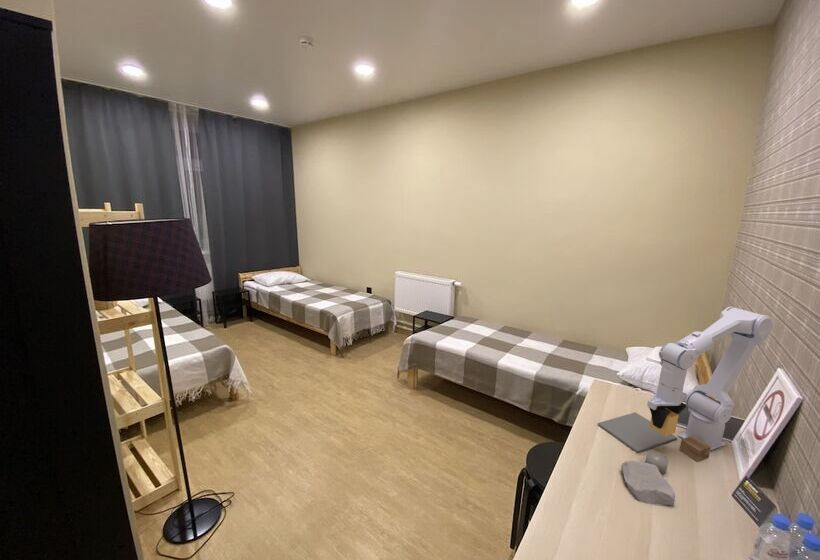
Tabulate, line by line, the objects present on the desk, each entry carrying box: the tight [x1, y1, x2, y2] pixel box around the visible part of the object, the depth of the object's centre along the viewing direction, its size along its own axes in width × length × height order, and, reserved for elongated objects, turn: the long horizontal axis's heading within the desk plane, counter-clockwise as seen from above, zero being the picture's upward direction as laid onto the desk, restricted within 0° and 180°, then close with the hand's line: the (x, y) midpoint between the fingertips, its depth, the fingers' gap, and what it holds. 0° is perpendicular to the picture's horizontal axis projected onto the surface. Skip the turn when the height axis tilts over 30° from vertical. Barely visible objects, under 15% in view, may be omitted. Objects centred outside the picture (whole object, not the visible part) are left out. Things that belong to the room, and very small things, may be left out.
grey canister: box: [644, 449, 669, 476], centre depth 95 cm, size 5×5×4 cm
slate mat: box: [597, 412, 678, 454], centre depth 111 cm, size 18×14×1 cm
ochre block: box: [650, 408, 680, 436], centre depth 100 cm, size 4×4×6 cm
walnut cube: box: [678, 436, 712, 463], centre depth 101 cm, size 5×5×4 cm
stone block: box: [620, 460, 676, 507], centre depth 90 cm, size 12×5×10 cm
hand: (662, 424), depth 101 cm, fingers closed on ochre block, 4 cm apart
